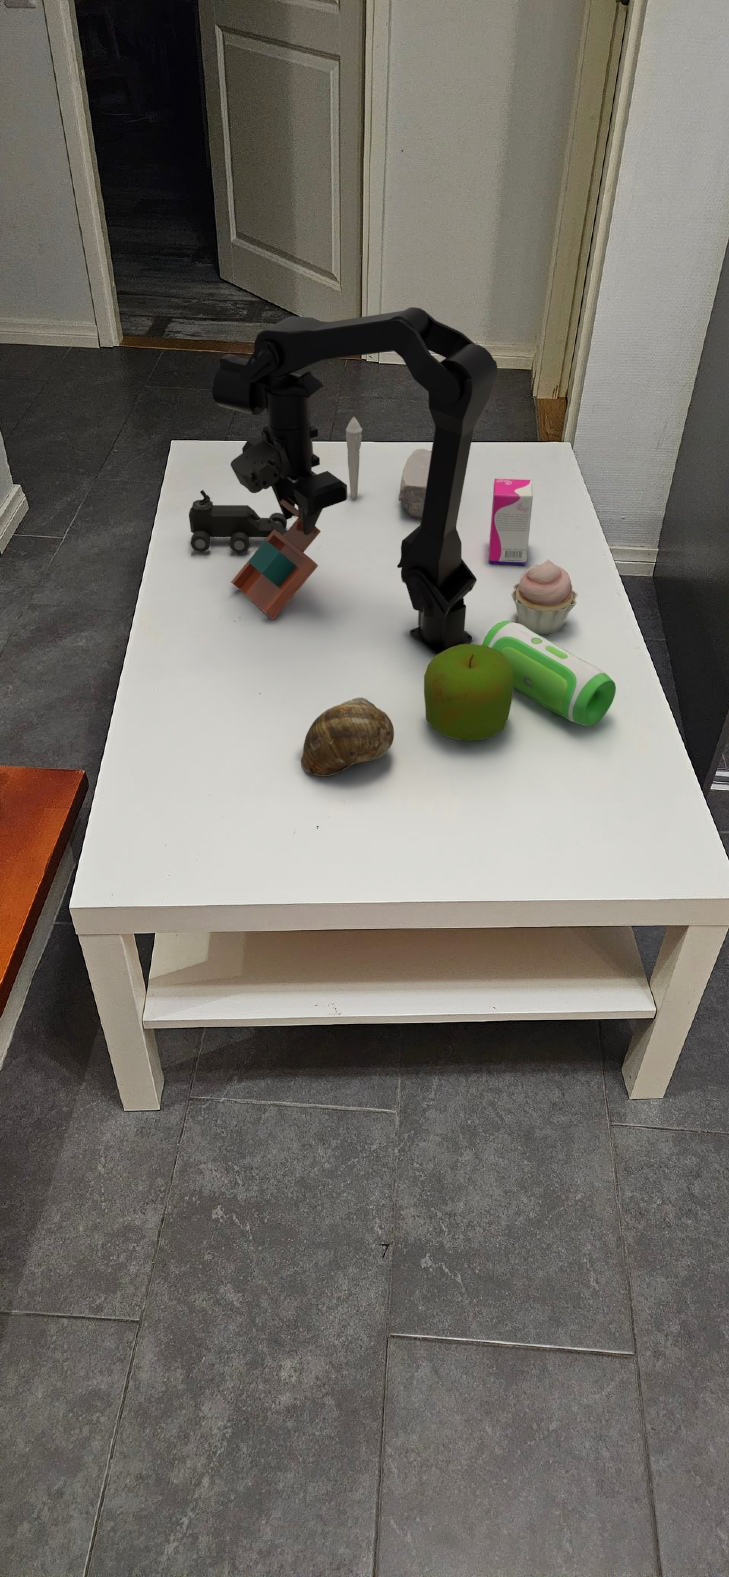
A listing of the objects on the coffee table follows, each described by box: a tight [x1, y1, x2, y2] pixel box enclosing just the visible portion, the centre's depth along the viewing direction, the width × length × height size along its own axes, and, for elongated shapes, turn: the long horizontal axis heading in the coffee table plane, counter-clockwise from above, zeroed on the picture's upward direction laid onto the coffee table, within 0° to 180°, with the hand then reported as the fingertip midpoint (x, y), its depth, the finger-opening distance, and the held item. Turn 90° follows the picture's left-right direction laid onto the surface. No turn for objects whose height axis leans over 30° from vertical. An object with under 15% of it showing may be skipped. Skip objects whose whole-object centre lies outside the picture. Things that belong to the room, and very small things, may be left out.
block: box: [247, 539, 296, 587], centre depth 154 cm, size 4×4×4 cm
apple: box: [423, 643, 515, 742], centre depth 132 cm, size 11×11×11 cm
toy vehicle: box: [188, 489, 288, 555], centre depth 167 cm, size 8×15×9 cm, turn 90°
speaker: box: [481, 620, 617, 727], centre depth 138 cm, size 18×7×8 cm, turn 42°
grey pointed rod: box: [345, 416, 363, 500], centre depth 176 cm, size 2×3×14 cm
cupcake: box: [510, 559, 579, 635], centre depth 149 cm, size 9×9×10 cm
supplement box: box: [488, 478, 534, 566], centre depth 163 cm, size 6×6×12 cm
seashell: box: [300, 697, 395, 777], centre depth 128 cm, size 11×9×8 cm
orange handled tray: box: [230, 499, 321, 621], centre depth 153 cm, size 10×14×6 cm
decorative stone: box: [398, 448, 432, 520], centre depth 177 cm, size 15×7×10 cm
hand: (297, 526), depth 153 cm, fingers closed on orange handled tray, 5 cm apart
